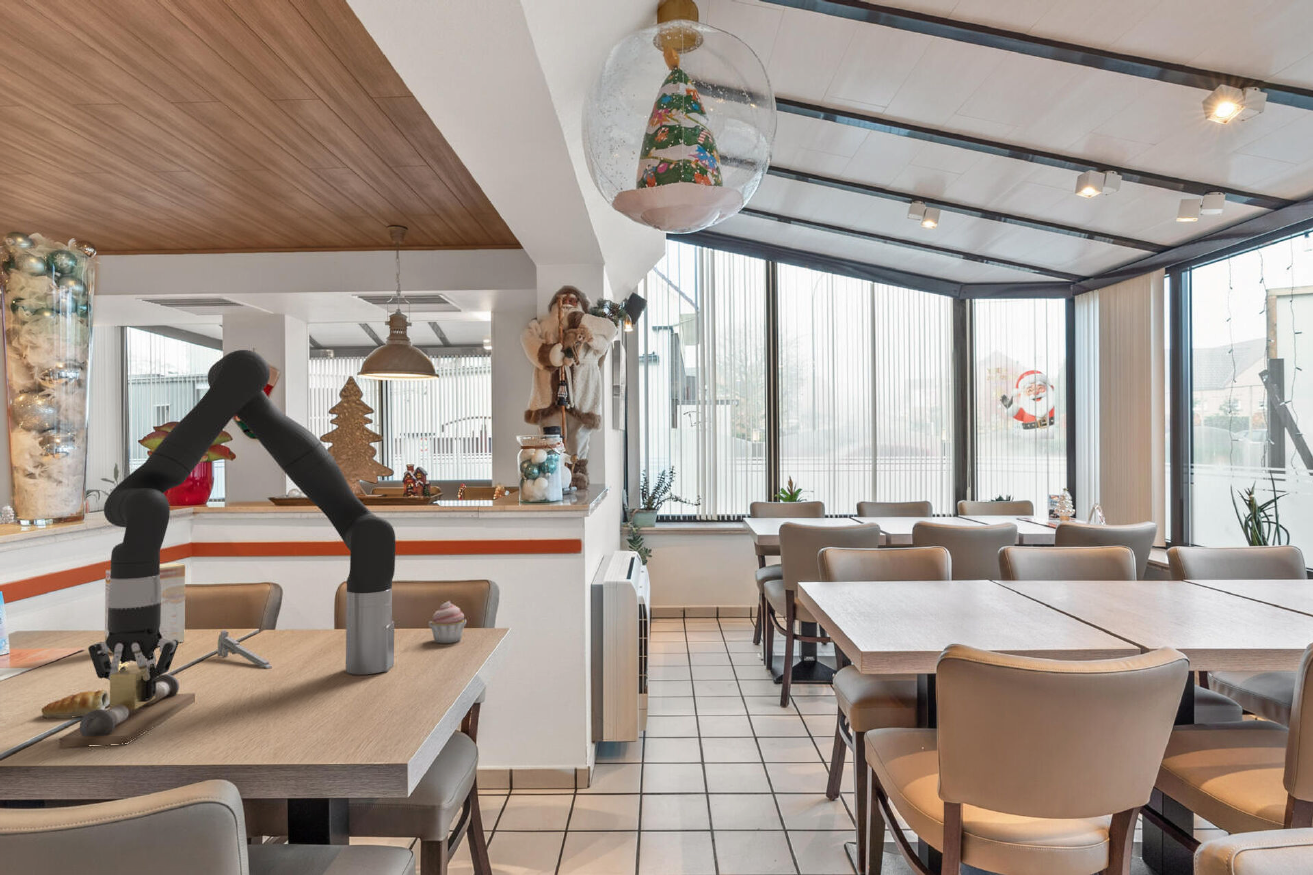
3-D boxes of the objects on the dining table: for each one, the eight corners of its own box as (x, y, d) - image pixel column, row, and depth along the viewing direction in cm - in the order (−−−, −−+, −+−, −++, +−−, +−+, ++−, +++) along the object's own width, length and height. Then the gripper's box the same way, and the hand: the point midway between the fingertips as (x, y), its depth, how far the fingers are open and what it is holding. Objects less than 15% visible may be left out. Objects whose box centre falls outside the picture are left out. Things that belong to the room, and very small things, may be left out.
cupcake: (461, 645, 177) (461, 604, 177) (423, 645, 177) (423, 604, 177) (471, 636, 186) (471, 597, 187) (435, 636, 186) (435, 597, 187)
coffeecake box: (173, 638, 185) (174, 561, 186) (185, 642, 181) (186, 564, 182) (103, 651, 173) (104, 569, 174) (114, 655, 169) (115, 571, 170)
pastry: (35, 724, 126) (36, 701, 126) (48, 712, 132) (49, 691, 132) (102, 715, 130) (102, 694, 130) (111, 704, 136) (112, 684, 136)
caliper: (217, 657, 169) (217, 629, 169) (222, 655, 170) (222, 628, 170) (267, 670, 158) (267, 641, 158) (272, 668, 159) (272, 640, 159)
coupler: (155, 697, 129) (155, 663, 129) (134, 709, 123) (135, 673, 123) (131, 698, 129) (131, 664, 129) (109, 710, 123) (110, 674, 123)
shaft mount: (194, 701, 137) (195, 672, 137) (127, 744, 116) (127, 710, 116) (138, 703, 136) (138, 674, 136) (59, 747, 115) (60, 713, 115)
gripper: (189, 596, 131) (187, 692, 131) (104, 598, 129) (102, 695, 129) (166, 605, 124) (164, 706, 123) (76, 607, 122) (74, 710, 122)
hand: (133, 700), depth 126 cm, fingers closed on coupler, 4 cm apart
